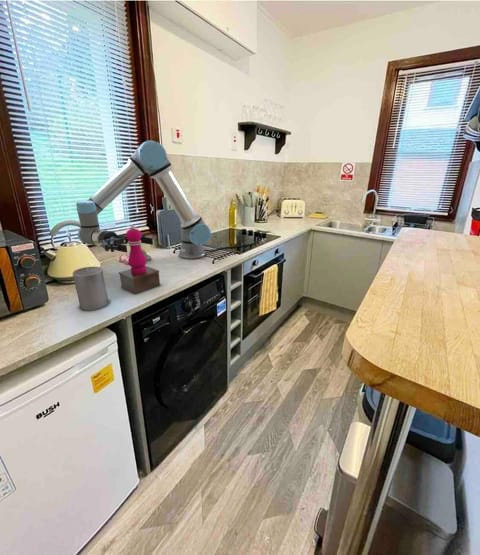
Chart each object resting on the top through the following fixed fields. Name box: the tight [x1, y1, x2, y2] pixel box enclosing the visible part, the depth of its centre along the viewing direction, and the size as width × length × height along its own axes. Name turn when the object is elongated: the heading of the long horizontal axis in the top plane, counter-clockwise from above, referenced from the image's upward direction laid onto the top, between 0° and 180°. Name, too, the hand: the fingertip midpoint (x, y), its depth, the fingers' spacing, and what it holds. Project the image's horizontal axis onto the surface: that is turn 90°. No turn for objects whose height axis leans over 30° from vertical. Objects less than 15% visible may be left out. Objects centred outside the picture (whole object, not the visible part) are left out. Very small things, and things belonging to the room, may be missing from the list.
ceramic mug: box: [128, 248, 152, 260], centre depth 153 cm, size 11×8×8 cm
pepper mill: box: [125, 224, 147, 274], centre depth 114 cm, size 7×7×20 cm
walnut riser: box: [118, 265, 161, 295], centre depth 119 cm, size 12×11×7 cm
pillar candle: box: [72, 266, 109, 311], centre depth 101 cm, size 10×10×15 cm
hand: (139, 245), depth 112 cm, fingers open, 13 cm apart
